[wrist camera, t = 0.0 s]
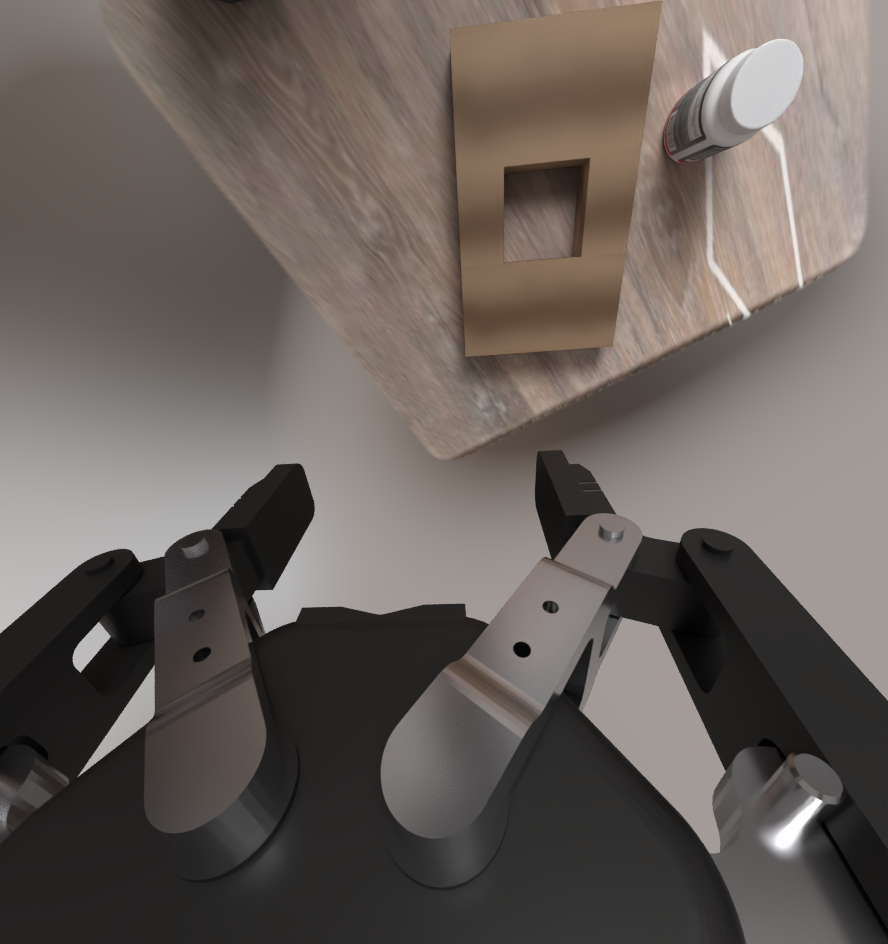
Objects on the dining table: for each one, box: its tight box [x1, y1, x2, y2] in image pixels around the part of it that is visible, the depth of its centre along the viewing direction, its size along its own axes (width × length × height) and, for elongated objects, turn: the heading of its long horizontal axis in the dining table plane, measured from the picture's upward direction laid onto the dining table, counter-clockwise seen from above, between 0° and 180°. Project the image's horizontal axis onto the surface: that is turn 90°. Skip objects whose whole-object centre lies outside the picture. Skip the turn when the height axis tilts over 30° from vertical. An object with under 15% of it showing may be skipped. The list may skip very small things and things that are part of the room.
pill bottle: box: [664, 39, 803, 164], centre depth 26 cm, size 5×5×8 cm
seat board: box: [450, 1, 662, 357], centre depth 32 cm, size 22×14×3 cm, turn 4°
